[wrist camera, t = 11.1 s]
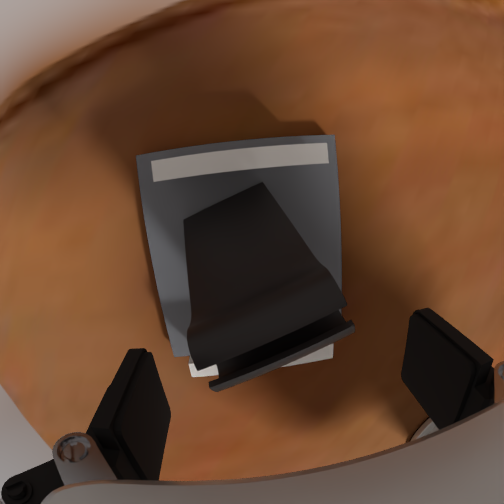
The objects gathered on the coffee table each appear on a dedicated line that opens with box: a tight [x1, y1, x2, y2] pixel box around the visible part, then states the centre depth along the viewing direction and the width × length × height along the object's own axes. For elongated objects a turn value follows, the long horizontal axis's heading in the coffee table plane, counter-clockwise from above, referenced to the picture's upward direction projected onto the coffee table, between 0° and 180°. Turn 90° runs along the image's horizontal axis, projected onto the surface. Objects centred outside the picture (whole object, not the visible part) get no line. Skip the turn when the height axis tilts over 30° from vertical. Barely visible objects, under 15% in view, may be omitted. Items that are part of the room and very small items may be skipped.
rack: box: [136, 135, 342, 377], centre depth 21 cm, size 14×16×6 cm
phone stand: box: [183, 182, 355, 392], centre depth 16 cm, size 9×6×12 cm, turn 24°
